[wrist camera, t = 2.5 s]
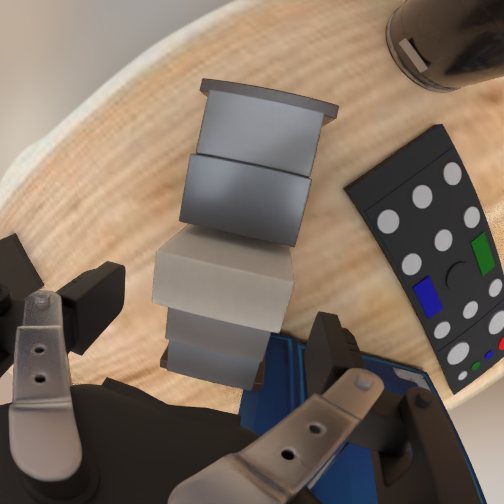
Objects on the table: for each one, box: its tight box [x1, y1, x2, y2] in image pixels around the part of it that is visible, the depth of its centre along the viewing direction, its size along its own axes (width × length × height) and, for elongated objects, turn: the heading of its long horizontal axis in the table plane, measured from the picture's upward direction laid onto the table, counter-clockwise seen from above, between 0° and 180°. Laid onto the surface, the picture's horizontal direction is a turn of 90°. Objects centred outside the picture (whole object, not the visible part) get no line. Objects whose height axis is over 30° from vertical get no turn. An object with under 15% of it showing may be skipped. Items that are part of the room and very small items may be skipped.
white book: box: [152, 224, 294, 333], centre depth 20 cm, size 3×6×14 cm, turn 78°
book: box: [238, 332, 487, 504], centre depth 20 cm, size 22×7×25 cm, turn 70°
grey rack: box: [160, 78, 339, 391], centre depth 22 cm, size 19×8×12 cm, turn 168°
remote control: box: [344, 124, 504, 395], centre depth 26 cm, size 11×30×2 cm, turn 37°
